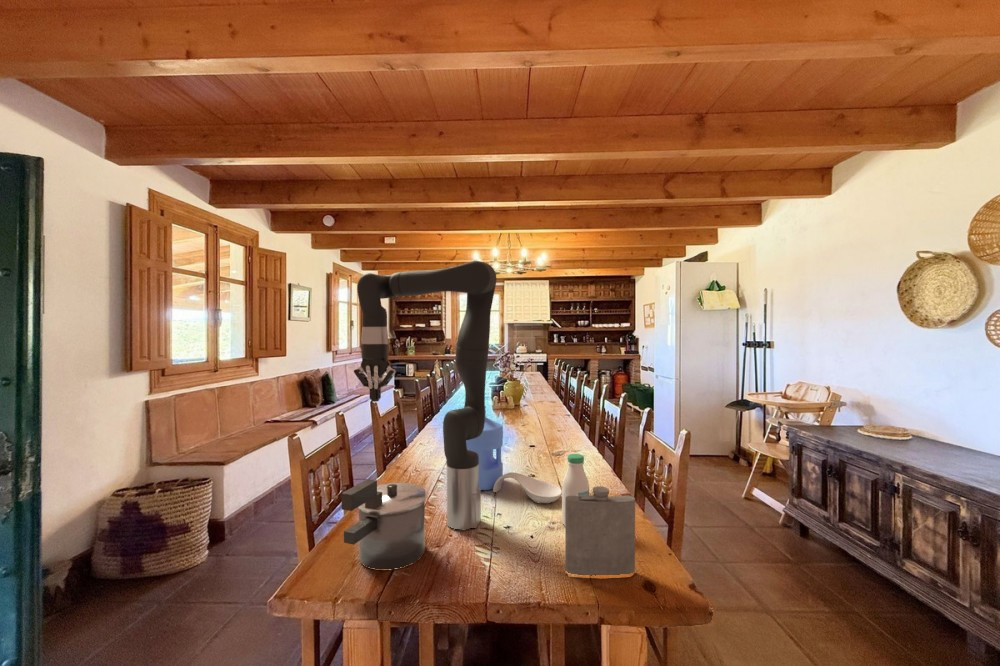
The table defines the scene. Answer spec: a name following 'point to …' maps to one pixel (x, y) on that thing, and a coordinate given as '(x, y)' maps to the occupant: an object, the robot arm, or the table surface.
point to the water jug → (488, 453)
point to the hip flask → (600, 534)
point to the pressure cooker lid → (383, 497)
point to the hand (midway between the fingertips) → (375, 401)
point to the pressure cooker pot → (389, 538)
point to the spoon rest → (532, 487)
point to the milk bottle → (574, 480)
